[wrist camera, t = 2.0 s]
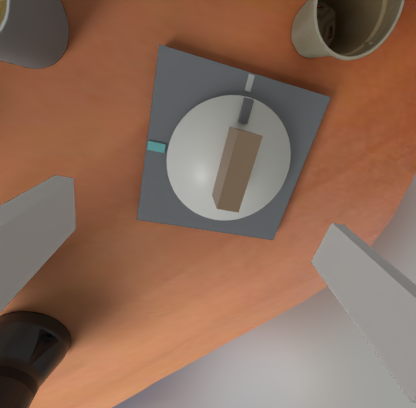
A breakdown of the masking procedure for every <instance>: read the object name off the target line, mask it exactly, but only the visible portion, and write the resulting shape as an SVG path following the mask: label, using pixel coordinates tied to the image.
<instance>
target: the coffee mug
mask: <svg viewBox="0 0 416 408" xmlns="http://www.w3.org/2000/svg"><path fill="white" fill-rule="evenodd" d="M68 37H69V26H68V20H67V16H66V13H65V10H64V8H63V5H62V3H61V1H60V0H0V61H4V62H8V63H11V64H15V65H19V66H23V67H27V68H34V69H39V68H46V67H48V66H51V65H53V64H54V63H56V62H57V61H58V60H59V59H60V58H61V57H62V55H63V54H64V52H65V50H66V47H67V44H68Z"/></svg>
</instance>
